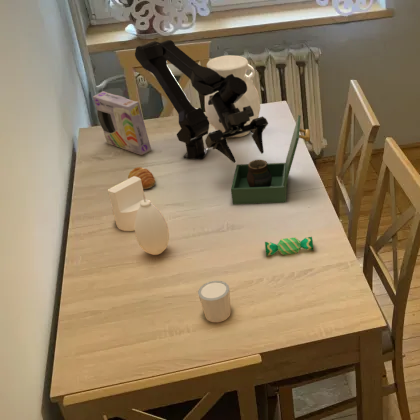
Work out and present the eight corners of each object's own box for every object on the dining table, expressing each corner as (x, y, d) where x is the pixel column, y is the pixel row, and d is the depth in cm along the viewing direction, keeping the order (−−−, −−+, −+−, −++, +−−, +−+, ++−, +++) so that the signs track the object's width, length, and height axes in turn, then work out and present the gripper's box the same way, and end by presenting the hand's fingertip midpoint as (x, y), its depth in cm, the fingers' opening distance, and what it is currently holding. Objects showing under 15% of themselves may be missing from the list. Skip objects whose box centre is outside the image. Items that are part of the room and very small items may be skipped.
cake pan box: (103, 142, 222) (90, 94, 212) (115, 137, 225) (103, 88, 216) (140, 157, 212) (128, 107, 203) (152, 151, 216) (141, 101, 206)
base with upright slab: (136, 209, 186) (127, 172, 179) (157, 219, 181) (149, 181, 175) (109, 224, 180) (99, 186, 173) (130, 234, 175) (121, 196, 169)
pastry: (162, 184, 197) (159, 173, 195) (141, 193, 193) (139, 182, 191) (146, 174, 203) (143, 163, 201) (126, 182, 199) (123, 171, 197)
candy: (266, 256, 164) (264, 240, 164) (266, 256, 168) (264, 240, 168) (313, 251, 166) (312, 235, 166) (313, 251, 169) (311, 235, 169)
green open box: (232, 204, 187) (230, 189, 184) (238, 178, 199) (236, 164, 197) (285, 202, 188) (284, 187, 185) (288, 176, 200) (286, 162, 197)
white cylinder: (204, 304, 151) (199, 281, 147) (234, 302, 151) (230, 279, 147) (200, 325, 145) (195, 301, 141) (232, 323, 145) (228, 299, 142)
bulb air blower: (160, 264, 164) (147, 203, 154) (134, 258, 166) (119, 198, 157) (178, 246, 170) (166, 187, 160) (153, 241, 172) (139, 182, 163)
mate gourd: (269, 179, 197) (266, 149, 192) (276, 191, 191) (272, 161, 186) (245, 184, 195) (242, 154, 190) (251, 196, 189) (247, 166, 184)
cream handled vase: (257, 116, 237) (249, 49, 224) (267, 138, 222) (260, 67, 209) (205, 124, 232) (194, 56, 219) (212, 147, 218) (201, 75, 204)
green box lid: (296, 137, 177) (311, 141, 177) (298, 114, 189) (312, 118, 190) (283, 185, 185) (297, 189, 185) (285, 161, 197) (298, 164, 198)
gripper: (203, 107, 182) (227, 157, 181) (262, 90, 191) (284, 138, 190) (195, 123, 192) (217, 171, 190) (251, 107, 201) (273, 152, 200)
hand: (249, 157), depth 192 cm, fingers open, 9 cm apart
